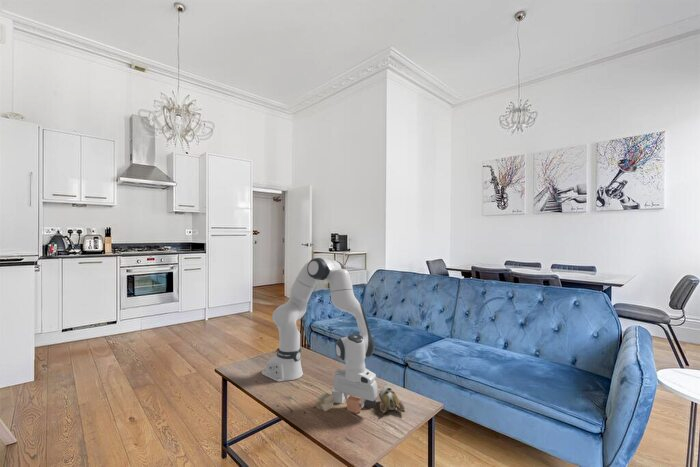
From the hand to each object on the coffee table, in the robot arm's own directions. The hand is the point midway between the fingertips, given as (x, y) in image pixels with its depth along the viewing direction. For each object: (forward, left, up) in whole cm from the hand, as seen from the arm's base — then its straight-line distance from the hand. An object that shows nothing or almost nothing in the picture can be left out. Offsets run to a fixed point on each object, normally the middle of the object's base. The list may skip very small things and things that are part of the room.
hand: (354, 405), depth 138 cm
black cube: (+4, +7, -2) cm, 8 cm away
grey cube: (-10, +3, -2) cm, 11 cm away
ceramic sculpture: (+13, +8, -2) cm, 15 cm away
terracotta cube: (0, 0, -2) cm, 2 cm away
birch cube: (-12, -5, -2) cm, 13 cm away
